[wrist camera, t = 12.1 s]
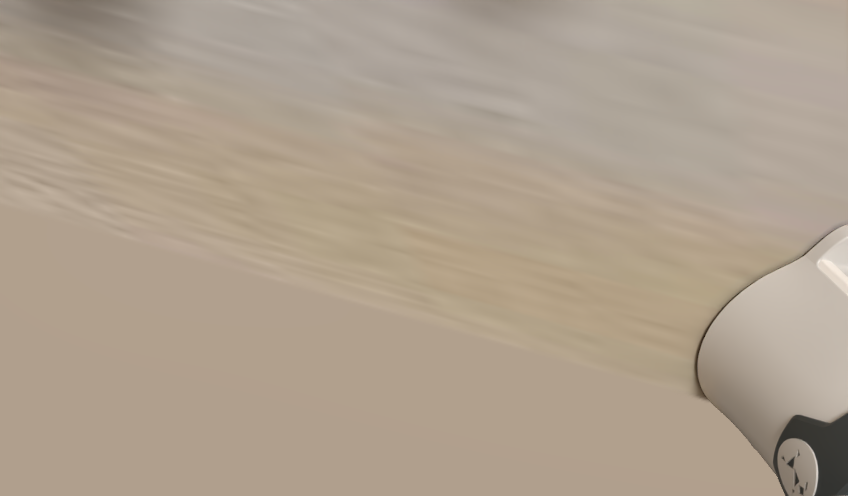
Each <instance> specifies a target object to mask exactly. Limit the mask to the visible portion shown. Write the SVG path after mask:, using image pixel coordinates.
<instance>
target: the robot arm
mask: <svg viewBox="0 0 848 496" xmlns="http://www.w3.org/2000/svg"><path fill="white" fill-rule="evenodd" d="M698 378H699V382H700V385H701V388H702V390H703V392H704V394H705V396H706V397H707V398H708V400H709V401H710V402H711V403H712V404H713V405H714V406H715V407H716V408H717V409H719V410H720V411H721V412H722V413H723V414H724V415H725V416H726V417H727V418H728V419H729V420H730V421H731V422H732V423H733V424H734V425H735V426H736V427H737V428H738V429H739V430H740V431H741V432H742V433H743V435H744V436H745V437H746V438H747V439H748V441H749V442H750V443H751V445H752V446H753V447H754V448H755V449H756V450H757V451H758V453H759V454H760V455H761V456H762V458H763V459H764V460H765V461H766V462H767V464H768V465H769V466H770V468H771V469H772V470H773V471H774V473H775V474H776V475H777V477H778V479H779V482H780V484H781V487H782V489H783V491H784V493H785V496H848V225H845V226H842V227H840V228H838V229H836V230H834V231H833V232H831V233H830V234H829V235H827V236H826V237H825V238H824V239H822V240H821V241H820V242H819V243H818V244H817V245H816V246H814V247H813V248H812V249H811V250H810V251H809V252H808V253H807V254H806V255H805V256H803V257H801V258H800V259H798V260H796V261H794V262H792V263H790V264H788V265H786V266H784V267H782V268H780V269H778V270H776V271H774V272H772V273H770V274H768V275H766V276H764V277H762V278H761V279H759V280H757V281H756V282H754V283H753V284H751V285H750V286H749V287H747V288H746V289H745V290H743V291H742V292H741V293H740V294H738V295H737V296H736V297H735V298H734V299H733V300H732V301H731V302H730V303H729V304H728V305H727V306H726V307H725V308H724V309H723V310H722V311H721V313H720V314H719V315H718V316H717V318H716V319H715V320H714V322H713V323H712V325H711V326H710V328H709V330H708V332H707V333H706V336H705V338H704V340H703V342H702V345H701V348H700V352H699V357H698Z"/></svg>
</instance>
